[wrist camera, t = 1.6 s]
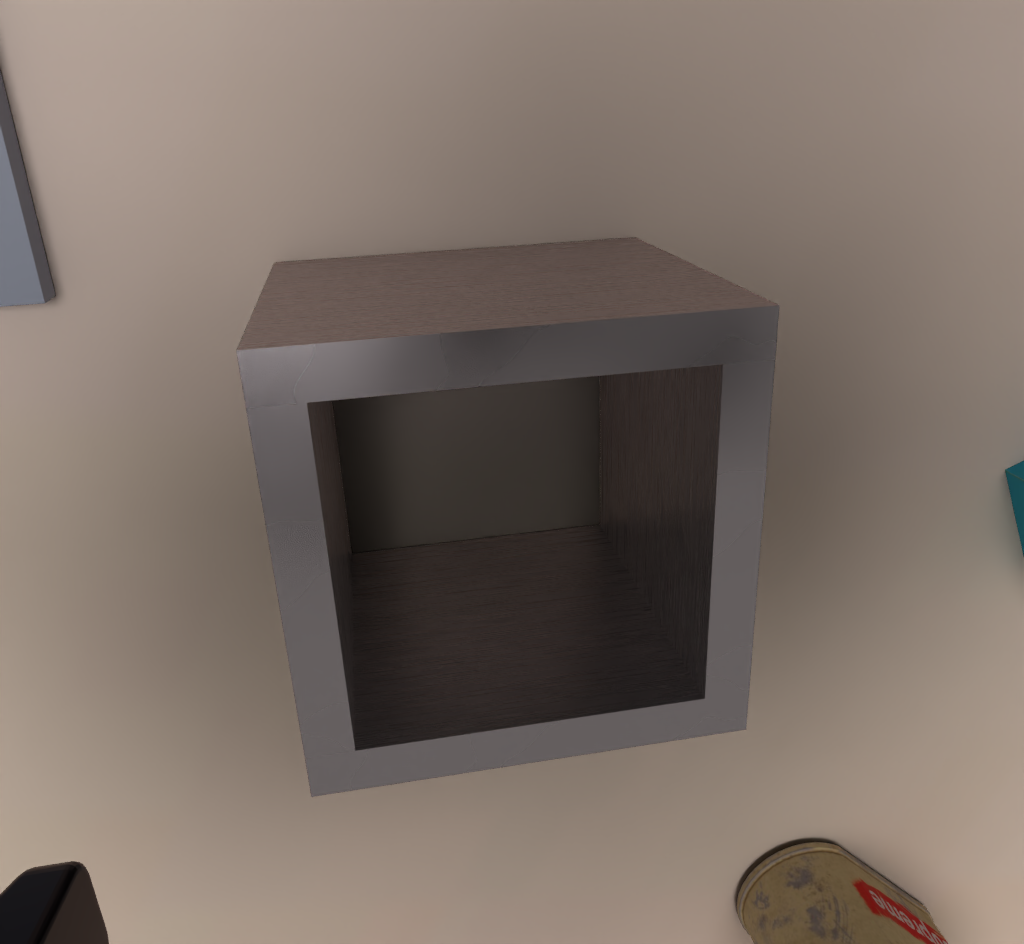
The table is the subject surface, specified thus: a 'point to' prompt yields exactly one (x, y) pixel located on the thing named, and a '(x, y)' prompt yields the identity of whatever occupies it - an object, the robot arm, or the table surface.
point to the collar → (529, 556)
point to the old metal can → (828, 902)
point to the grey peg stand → (18, 225)
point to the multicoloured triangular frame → (1017, 495)
